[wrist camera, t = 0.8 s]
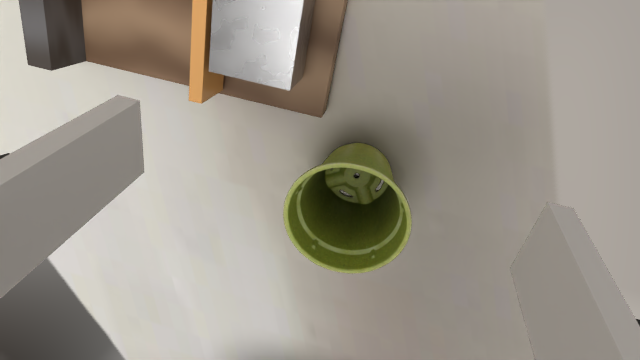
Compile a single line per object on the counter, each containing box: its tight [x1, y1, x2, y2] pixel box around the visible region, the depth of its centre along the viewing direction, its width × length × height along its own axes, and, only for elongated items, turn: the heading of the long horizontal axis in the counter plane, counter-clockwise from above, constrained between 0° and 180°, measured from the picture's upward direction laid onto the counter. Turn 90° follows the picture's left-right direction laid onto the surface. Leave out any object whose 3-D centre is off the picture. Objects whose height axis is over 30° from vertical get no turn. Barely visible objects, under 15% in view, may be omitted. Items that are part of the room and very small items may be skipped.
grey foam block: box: [209, 0, 315, 91], centre depth 29 cm, size 8×6×4 cm
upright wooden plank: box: [189, 0, 224, 104], centre depth 30 cm, size 13×1×4 cm, turn 170°
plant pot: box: [283, 143, 412, 273], centre depth 34 cm, size 9×9×9 cm
